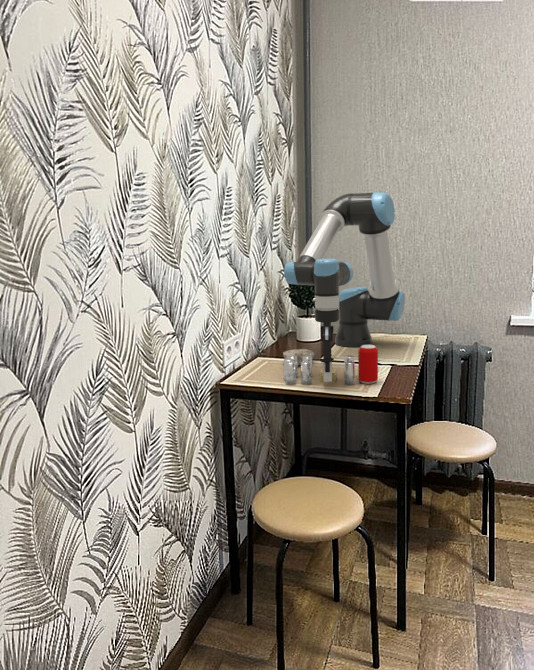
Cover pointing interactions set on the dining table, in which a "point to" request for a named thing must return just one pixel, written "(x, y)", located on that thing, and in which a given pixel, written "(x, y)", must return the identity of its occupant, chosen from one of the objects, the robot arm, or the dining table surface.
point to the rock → (298, 354)
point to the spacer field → (306, 370)
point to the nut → (332, 375)
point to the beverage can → (368, 364)
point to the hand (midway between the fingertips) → (327, 381)
